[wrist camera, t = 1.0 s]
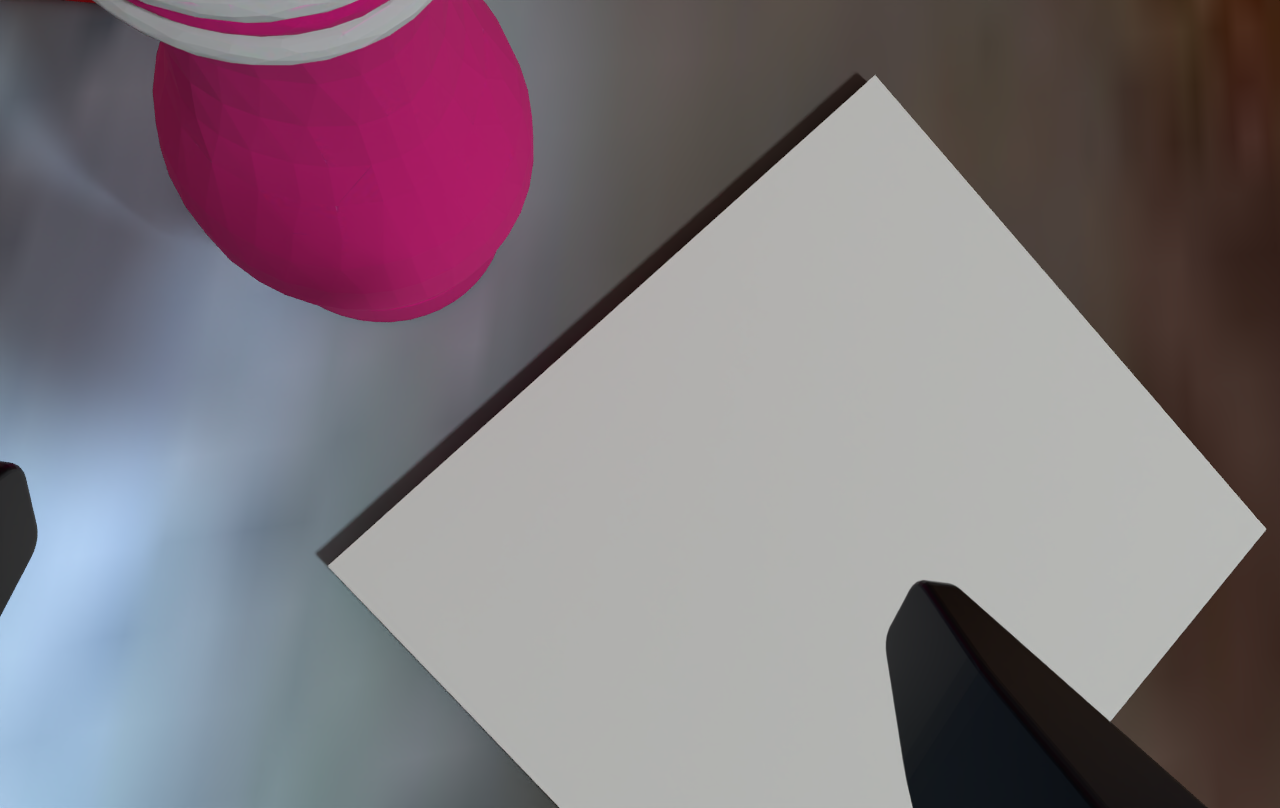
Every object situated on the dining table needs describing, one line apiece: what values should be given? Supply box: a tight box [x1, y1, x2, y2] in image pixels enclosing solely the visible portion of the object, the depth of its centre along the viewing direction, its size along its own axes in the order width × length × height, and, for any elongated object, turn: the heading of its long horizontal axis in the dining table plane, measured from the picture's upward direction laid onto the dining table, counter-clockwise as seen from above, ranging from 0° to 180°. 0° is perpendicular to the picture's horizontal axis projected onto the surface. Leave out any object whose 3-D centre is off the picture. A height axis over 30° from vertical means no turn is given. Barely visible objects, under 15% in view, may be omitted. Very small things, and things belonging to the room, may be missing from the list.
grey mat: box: [328, 76, 1266, 808], centre depth 23 cm, size 20×18×1 cm
